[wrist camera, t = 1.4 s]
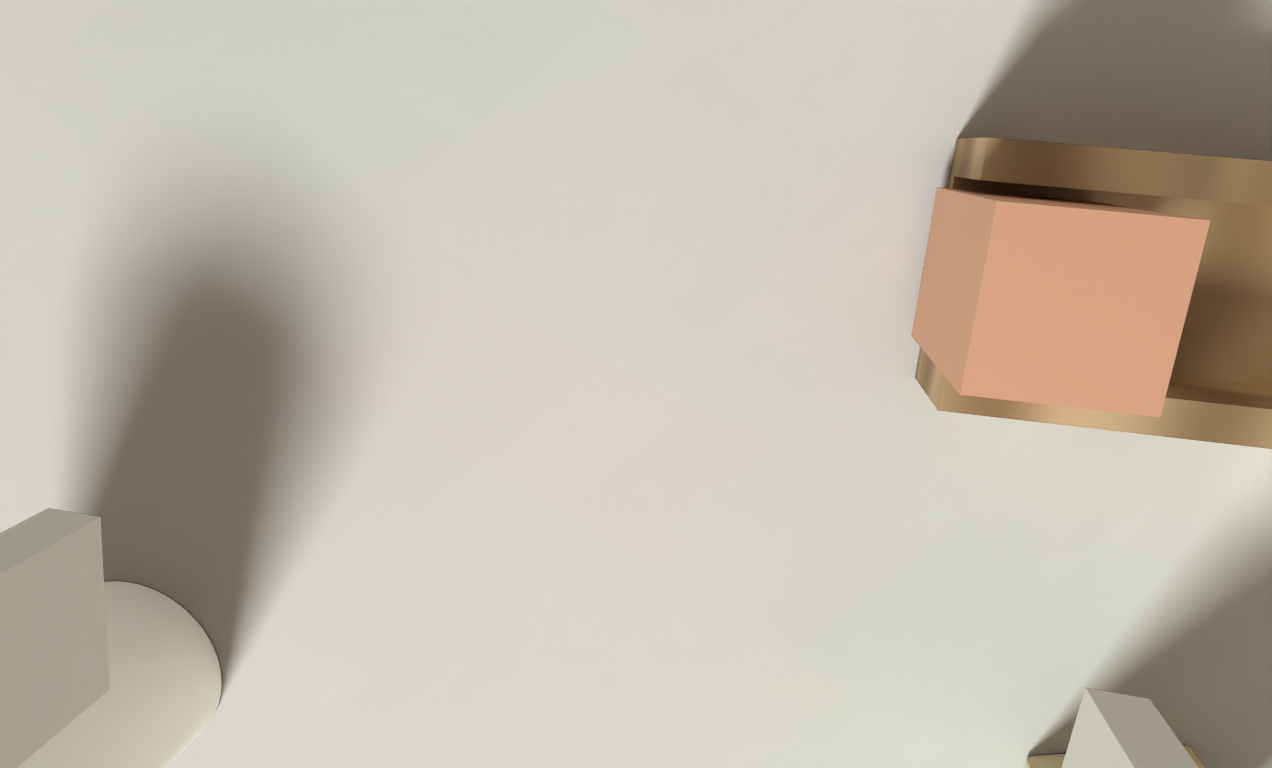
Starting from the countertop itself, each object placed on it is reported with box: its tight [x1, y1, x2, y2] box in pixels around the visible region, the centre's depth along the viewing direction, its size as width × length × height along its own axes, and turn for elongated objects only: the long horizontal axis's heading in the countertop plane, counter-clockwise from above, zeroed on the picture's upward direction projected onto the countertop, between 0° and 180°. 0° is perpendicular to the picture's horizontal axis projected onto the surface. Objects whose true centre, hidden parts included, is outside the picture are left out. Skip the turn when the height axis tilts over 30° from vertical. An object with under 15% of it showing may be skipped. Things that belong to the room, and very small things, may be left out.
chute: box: [915, 137, 1272, 449], centre depth 28 cm, size 16×8×4 cm, turn 85°
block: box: [912, 188, 1211, 417], centre depth 26 cm, size 5×5×8 cm
